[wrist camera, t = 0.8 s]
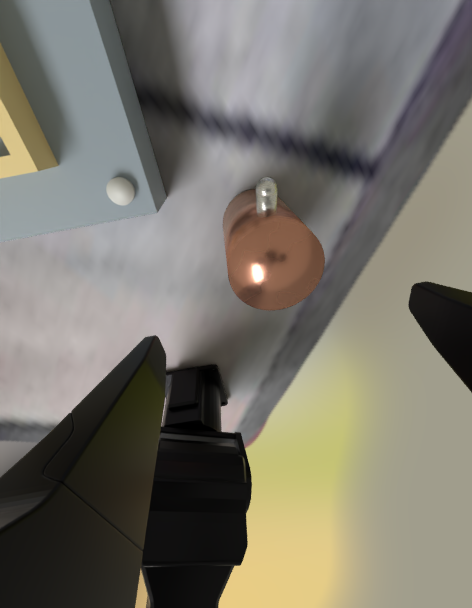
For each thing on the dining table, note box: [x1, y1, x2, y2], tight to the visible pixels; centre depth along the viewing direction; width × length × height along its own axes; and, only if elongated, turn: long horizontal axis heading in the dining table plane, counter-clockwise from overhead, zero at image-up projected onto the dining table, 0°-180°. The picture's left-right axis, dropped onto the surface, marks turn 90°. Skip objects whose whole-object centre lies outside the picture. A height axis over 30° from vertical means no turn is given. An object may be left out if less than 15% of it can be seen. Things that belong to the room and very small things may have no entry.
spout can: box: [223, 177, 325, 310], centre depth 17 cm, size 7×5×8 cm
